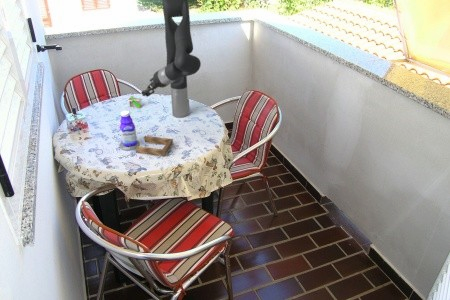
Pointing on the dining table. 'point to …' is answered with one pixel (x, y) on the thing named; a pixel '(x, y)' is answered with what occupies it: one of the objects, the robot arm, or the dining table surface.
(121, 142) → the coaster
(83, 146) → the dining table surface
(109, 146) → the dining table surface
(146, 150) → the wooden frame
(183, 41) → the robot arm
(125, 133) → the bottle
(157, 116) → the dining table surface
